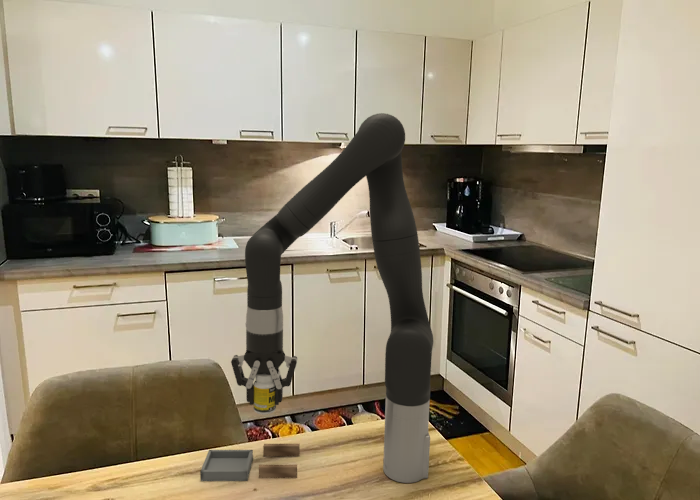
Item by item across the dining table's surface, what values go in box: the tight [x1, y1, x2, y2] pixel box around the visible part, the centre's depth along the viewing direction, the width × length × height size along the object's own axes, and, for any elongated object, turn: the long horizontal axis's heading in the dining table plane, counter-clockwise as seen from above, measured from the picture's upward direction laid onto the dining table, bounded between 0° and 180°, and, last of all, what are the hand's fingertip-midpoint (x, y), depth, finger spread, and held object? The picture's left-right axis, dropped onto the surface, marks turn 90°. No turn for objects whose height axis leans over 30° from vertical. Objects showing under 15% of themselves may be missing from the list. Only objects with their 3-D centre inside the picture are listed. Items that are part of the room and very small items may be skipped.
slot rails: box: [258, 443, 301, 479], centre depth 113 cm, size 8×9×2 cm
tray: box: [199, 449, 254, 482], centre depth 112 cm, size 10×8×2 cm
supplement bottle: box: [253, 374, 277, 415], centre depth 110 cm, size 5×5×8 cm
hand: (264, 402), depth 111 cm, fingers closed on supplement bottle, 4 cm apart
